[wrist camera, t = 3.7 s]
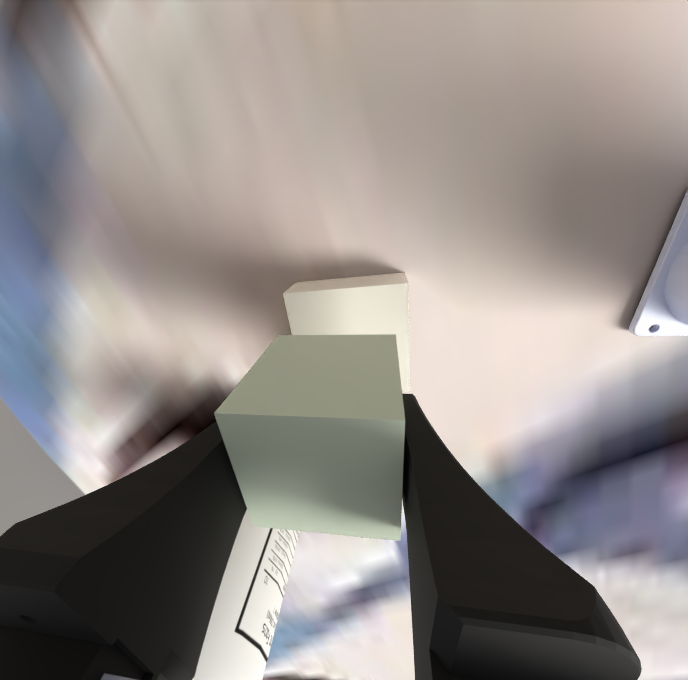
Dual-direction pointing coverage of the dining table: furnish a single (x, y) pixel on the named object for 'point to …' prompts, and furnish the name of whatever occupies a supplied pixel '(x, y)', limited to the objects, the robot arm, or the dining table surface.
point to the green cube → (320, 435)
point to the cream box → (354, 310)
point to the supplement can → (247, 604)
